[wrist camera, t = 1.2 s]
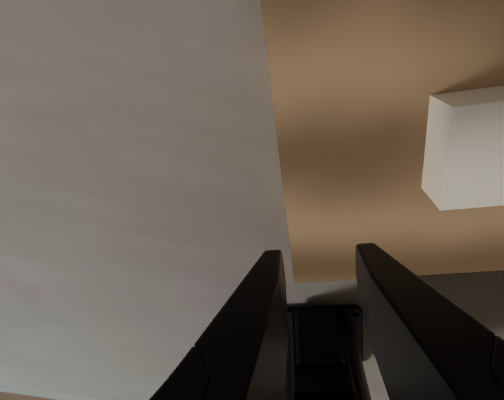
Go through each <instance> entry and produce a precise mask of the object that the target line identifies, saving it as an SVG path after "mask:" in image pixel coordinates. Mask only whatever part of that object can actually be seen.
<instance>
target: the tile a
mask: <svg viewBox="0 0 504 400" xmlns="http://www.w3.org/2000/svg"><path fill="white" fill-rule="evenodd" d="M421 188H422V189H423V191H424V192H425V193H426V194H427V196H428V197H429V198H430V199H431V200H432V202H433V203H434V204H435V205H436V206H437V208H438V209H439V210H440V211H444V210H456V209H467V208H479V207H491V206H503V205H504V86H496V87H488V88H481V89H473V90H465V91H458V92H450V93H442V94H435V95H430V99H429V110H428V121H427V132H426V142H425V153H424V164H423V174H422V185H421Z"/></svg>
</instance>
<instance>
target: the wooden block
mask: <svg viewBox="0 0 504 400" xmlns="http://www.w3.org/2000/svg"><path fill="white" fill-rule="evenodd" d="M261 6H262V14H263V22H264V31H265V39H266V48H267V56H268V64H269V73H270V81H271V90H272V98H273V107H274V115H275V123H276V132H277V140H278V149H279V157H280V165H281V174H282V182H283V191H284V199H285V208H286V216H287V224H288V233H289V241H290V250H291V258H292V266H293V275H294V283H302V282H319V281H335V280H352V279H356V258H355V248H356V245H357V244H361V243H374V244H376V245H377V246H379V247H380V248H381V249H383V250H384V251H385V252H387V253H388V254H389V255H391V256H392V257H393V258H395V259H396V260H397V261H399V262H400V263H401V264H403V265H404V266H405V267H407V268H408V269H409V270H411V271H412V272H413V273H415V274H416V275H417V276H418V275H434V274H451V273H467V272H484V271H500V270H504V205H503V206H491V207H479V208H467V209H456V210H444V211H440V210H439V209H438V208H437V206H436V205H435V204H434V203H433V202H432V200H431V199H430V198H429V197H428V196H427V194H426V193H425V192H424V191H423V189H422V188H421V185H422V174H423V164H424V153H425V142H426V132H427V121H428V110H429V99H430V95H435V94H442V93H450V92H458V91H465V90H473V89H481V88H488V87H496V86H504V0H261Z"/></svg>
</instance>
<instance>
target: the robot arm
mask: <svg viewBox="0 0 504 400" xmlns="http://www.w3.org/2000/svg"><path fill="white" fill-rule="evenodd" d="M355 258H356V279H357V284H358V289H359V294H360V298H361V303H362V308H363V313H364V318H365V323H366V327H367V332H368V336H369V339H370V342H371V346H372V349H373V352H374V355H375V358H376V361H377V364H378V367H379V369H380V372H381V375H382V378H383V381H384V384H385V387H386V390H387V393H388V396H389V399H390V400H504V340H503V339H502V338H501V337H499V336H495V333H494V332H493V331H491V330H490V329H488V328H487V327H486V326H484V325H483V324H482V323H480V322H479V321H478V320H476V319H475V318H474V317H472V316H471V315H470V314H468V313H467V312H466V311H464V310H463V309H462V308H460V307H459V306H458V305H456V304H455V303H454V302H452V301H451V300H450V299H448V298H447V297H446V296H444V295H443V294H442V293H440V292H439V291H438V290H436V289H435V288H434V287H432V286H431V285H430V284H428V283H427V282H426V281H424V280H423V279H421V278H420V277H419V276H417V275H416V274H415V273H413V272H412V271H411V270H409V269H408V268H407V267H405V266H404V265H403V264H401V263H400V262H399V261H397V260H396V259H395V258H393V257H392V256H391V255H389V254H388V253H387V252H385V251H384V250H383V249H381V248H380V247H379V246H377V245H376V244H374V243H361V244H357V245H356V248H355ZM353 312H356V313H353ZM363 313H362V309H361V307H360V306H358V305H342V306H323V307H303V308H287V300H286V281H285V272H284V265H283V257H282V252H281V250H267V251H265V252H264V253H263V254H262V255H261V257H260V258H259V259H258V261H257V262H256V263H255V265H254V266H253V267H252V269H251V270H250V271H249V273H248V274H247V275H246V277H245V278H244V279H243V281H242V282H241V283H240V285H239V286H238V287H237V288H236V290H235V291H234V292H233V294H232V295H231V296H230V298H229V299H228V300H227V302H226V303H225V304H224V306H223V307H222V308H221V310H220V311H219V312H218V314H217V315H216V316H215V318H214V319H213V320H212V322H211V323H210V324H209V326H208V327H207V328H206V330H205V331H204V332H203V334H202V335H201V336H200V338H199V339H198V340H197V341H196V343H195V345H194V346H195V347H192V348H191V349H190V351H189V352H188V353H187V355H186V356H185V357H184V358H183V360H182V361H181V362H180V364H179V365H178V366H177V367H176V369H175V370H174V371H173V372H172V374H171V375H170V376H169V377H168V379H167V380H166V381H165V382H164V383H163V385H162V386H161V387H160V388H159V389H158V390H157V391H156V392H155V394H154V395H153V396H152V397H151V398H150V399H149V400H371V397H370V393H369V388H368V384H367V380H366V376H365V371H364V367H363Z"/></svg>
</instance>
